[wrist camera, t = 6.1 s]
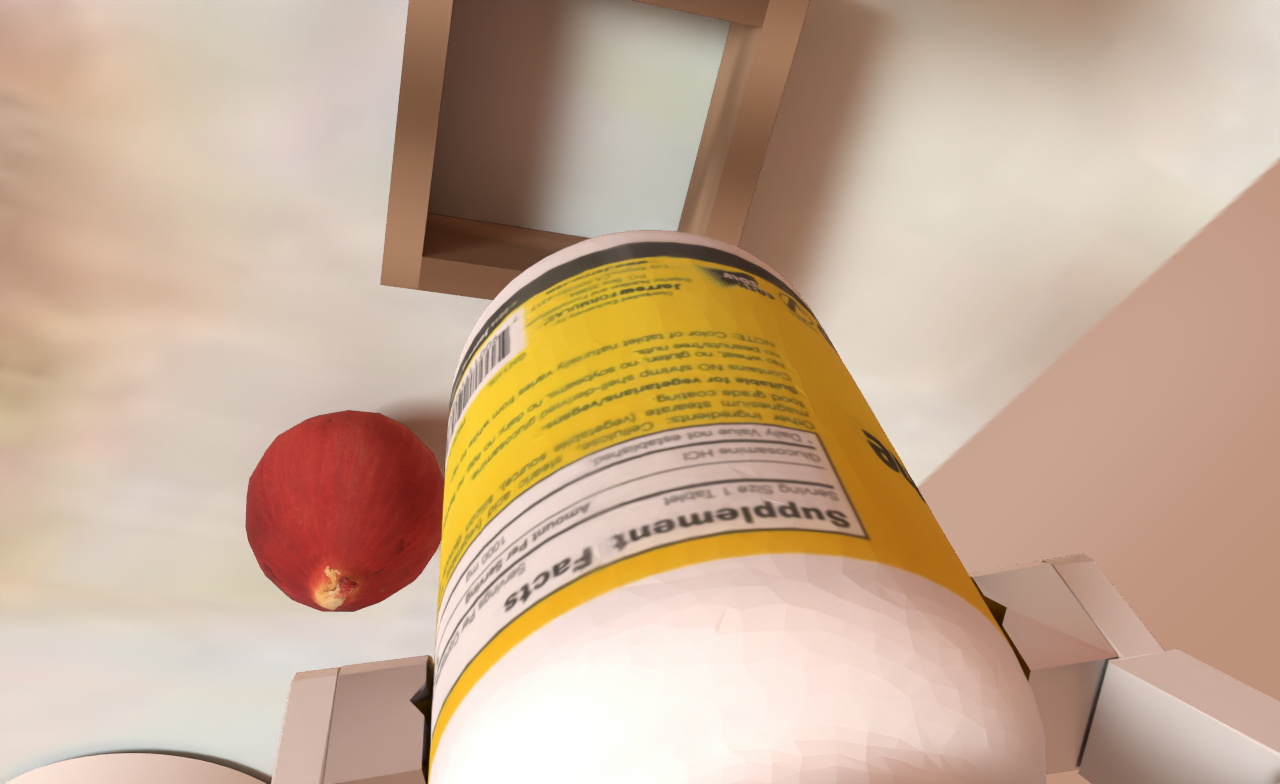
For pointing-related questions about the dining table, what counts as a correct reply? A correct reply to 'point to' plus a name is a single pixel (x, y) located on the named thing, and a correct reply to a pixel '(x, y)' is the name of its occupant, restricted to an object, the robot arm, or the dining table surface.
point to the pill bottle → (697, 549)
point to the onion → (345, 510)
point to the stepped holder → (496, 254)
